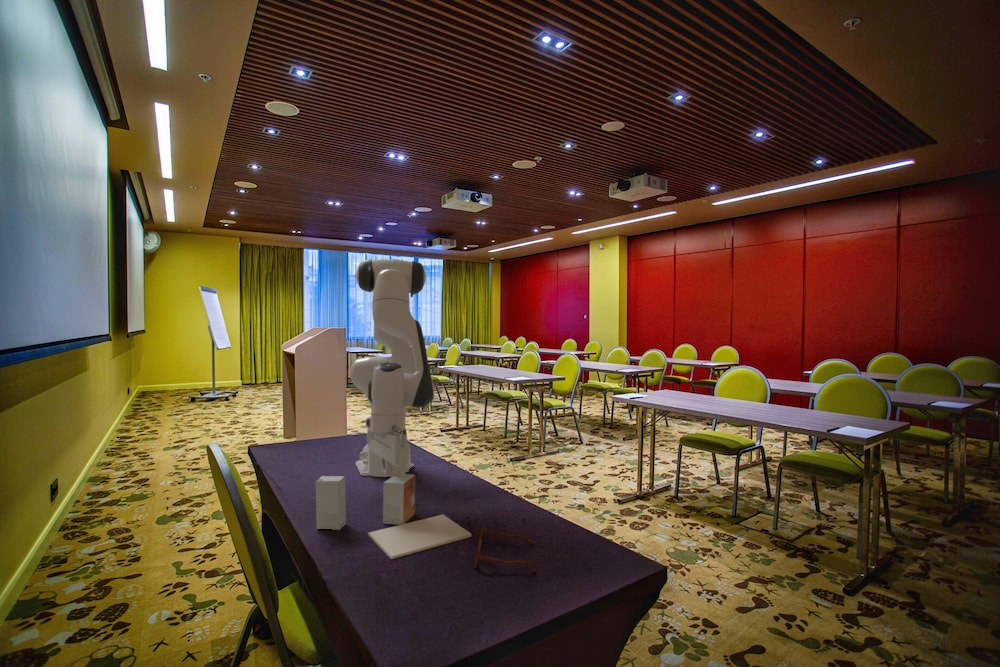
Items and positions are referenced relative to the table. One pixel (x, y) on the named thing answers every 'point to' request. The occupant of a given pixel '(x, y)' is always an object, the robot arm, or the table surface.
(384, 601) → the table surface
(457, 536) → the felt mat
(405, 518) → the small box
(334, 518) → the skincare box
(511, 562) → the glasses
